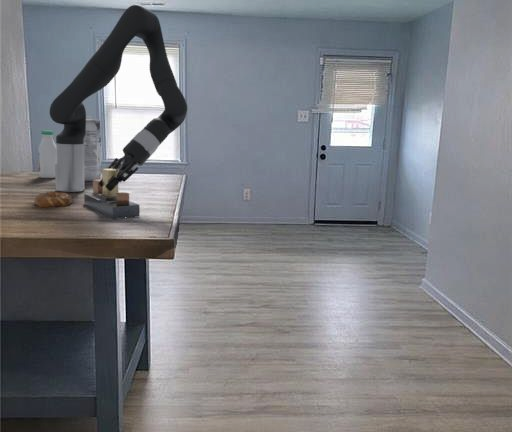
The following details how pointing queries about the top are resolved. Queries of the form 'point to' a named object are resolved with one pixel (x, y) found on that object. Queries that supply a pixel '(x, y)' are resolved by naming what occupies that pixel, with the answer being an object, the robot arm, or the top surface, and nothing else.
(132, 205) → the plane body
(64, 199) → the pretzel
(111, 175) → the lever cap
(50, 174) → the milk bottle
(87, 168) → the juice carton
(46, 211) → the top surface
